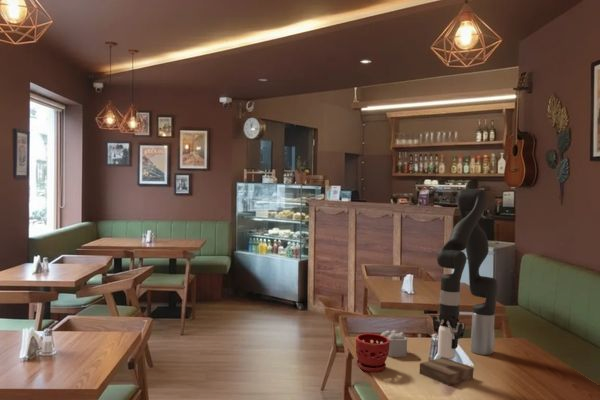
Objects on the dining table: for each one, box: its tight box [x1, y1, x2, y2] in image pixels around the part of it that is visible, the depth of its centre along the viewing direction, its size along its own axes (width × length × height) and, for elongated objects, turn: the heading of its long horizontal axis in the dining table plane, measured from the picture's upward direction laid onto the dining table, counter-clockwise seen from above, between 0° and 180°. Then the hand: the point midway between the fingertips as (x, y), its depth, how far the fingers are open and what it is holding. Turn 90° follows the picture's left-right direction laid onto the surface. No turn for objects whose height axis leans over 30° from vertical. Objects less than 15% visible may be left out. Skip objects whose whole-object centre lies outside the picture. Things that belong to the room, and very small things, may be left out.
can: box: [437, 324, 456, 360], centre depth 203 cm, size 6×6×12 cm
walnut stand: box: [419, 357, 474, 386], centre depth 203 cm, size 14×14×4 cm
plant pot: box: [355, 332, 390, 373], centre depth 208 cm, size 13×13×12 cm
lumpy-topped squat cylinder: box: [380, 329, 408, 358], centre depth 230 cm, size 10×13×9 cm
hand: (447, 346), depth 203 cm, fingers closed on can, 5 cm apart
